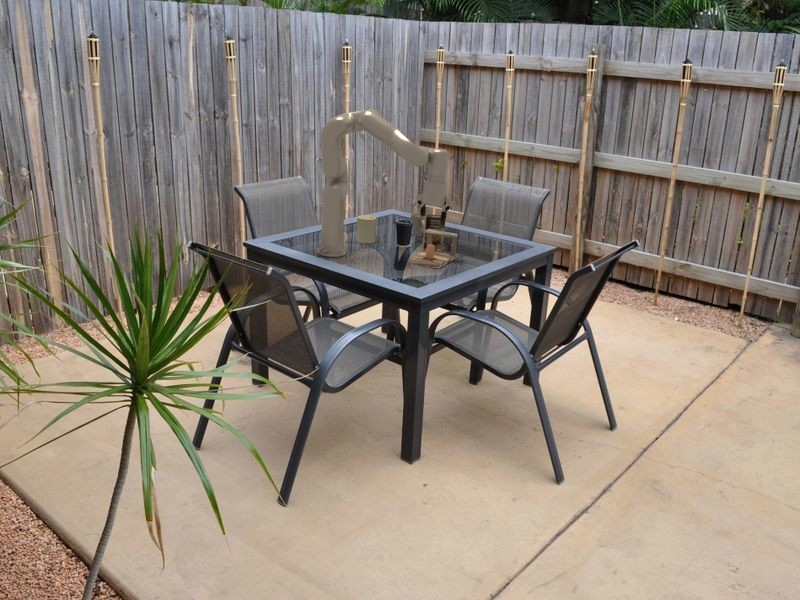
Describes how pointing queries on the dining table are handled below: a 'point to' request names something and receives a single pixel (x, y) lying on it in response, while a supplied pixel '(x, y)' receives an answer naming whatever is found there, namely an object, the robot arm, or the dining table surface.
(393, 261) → the dining table surface
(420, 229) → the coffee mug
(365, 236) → the can
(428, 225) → the coffee box
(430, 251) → the peg
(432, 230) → the socket block
